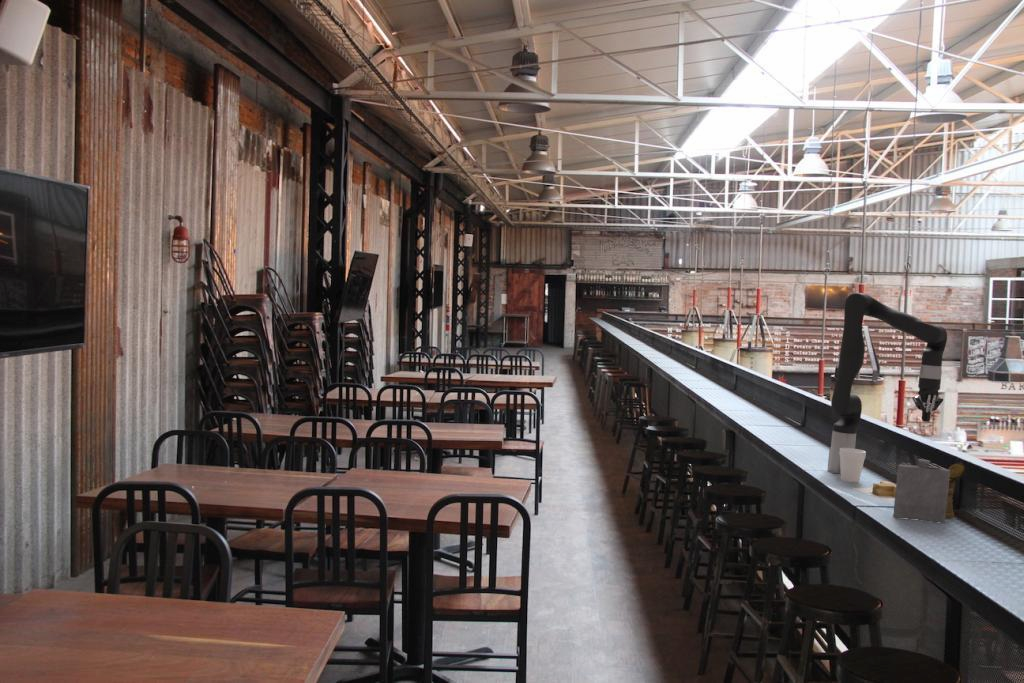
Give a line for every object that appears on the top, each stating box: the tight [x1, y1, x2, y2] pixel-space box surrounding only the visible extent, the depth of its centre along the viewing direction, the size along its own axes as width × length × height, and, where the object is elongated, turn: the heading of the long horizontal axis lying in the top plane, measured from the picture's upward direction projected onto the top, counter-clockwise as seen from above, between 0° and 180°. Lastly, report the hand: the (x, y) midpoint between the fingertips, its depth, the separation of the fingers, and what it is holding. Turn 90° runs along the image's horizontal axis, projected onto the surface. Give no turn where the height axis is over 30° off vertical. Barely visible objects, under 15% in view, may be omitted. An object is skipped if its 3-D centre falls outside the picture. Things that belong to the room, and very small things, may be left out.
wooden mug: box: [945, 462, 966, 519], centre depth 272 cm, size 9×14×18 cm, turn 114°
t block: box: [872, 480, 896, 496], centre depth 293 cm, size 10×9×4 cm
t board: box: [851, 487, 895, 502], centre depth 293 cm, size 18×18×1 cm
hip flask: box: [892, 458, 950, 524], centre depth 263 cm, size 16×4×20 cm, turn 80°
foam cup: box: [839, 448, 867, 483], centre depth 313 cm, size 10×9×13 cm
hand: (925, 421), depth 308 cm, fingers closed
